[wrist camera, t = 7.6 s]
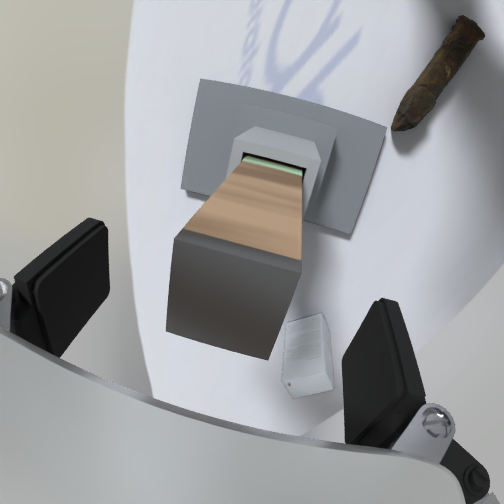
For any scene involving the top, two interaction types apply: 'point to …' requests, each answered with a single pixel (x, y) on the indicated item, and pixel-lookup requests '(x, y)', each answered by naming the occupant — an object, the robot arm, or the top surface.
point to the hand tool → (437, 74)
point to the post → (239, 260)
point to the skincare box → (307, 357)
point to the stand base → (284, 147)
